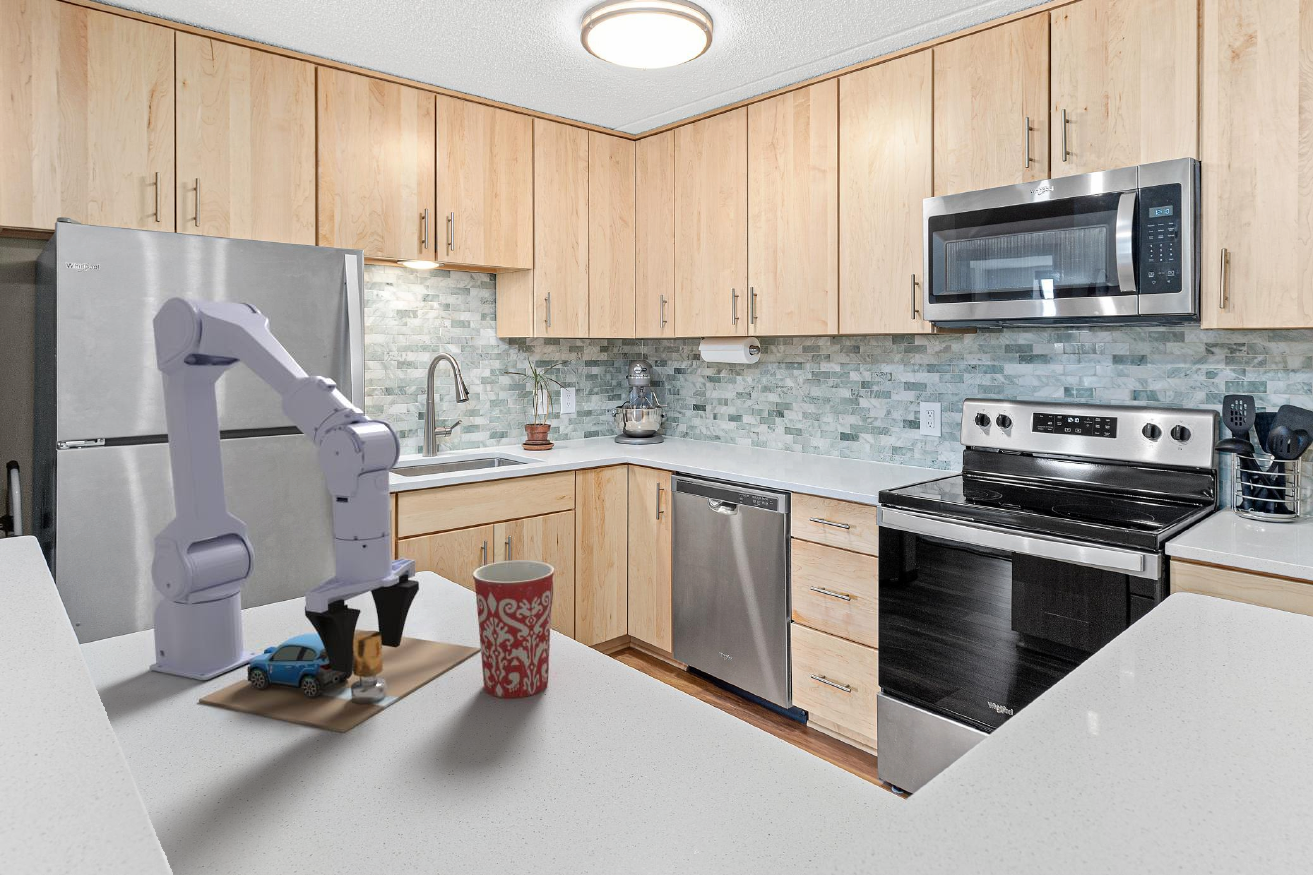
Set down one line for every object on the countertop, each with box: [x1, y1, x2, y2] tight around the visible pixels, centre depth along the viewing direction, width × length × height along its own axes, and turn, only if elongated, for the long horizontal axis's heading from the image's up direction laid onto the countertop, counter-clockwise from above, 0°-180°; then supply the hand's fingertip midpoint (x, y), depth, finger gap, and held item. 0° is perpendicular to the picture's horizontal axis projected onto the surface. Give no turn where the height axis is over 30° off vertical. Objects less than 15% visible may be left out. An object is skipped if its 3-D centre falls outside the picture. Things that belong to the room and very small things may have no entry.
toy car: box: [246, 633, 353, 698], centre depth 89 cm, size 6×12×6 cm, turn 73°
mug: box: [472, 560, 556, 699], centre depth 91 cm, size 13×9×14 cm
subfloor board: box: [198, 628, 481, 734], centre depth 93 cm, size 20×24×1 cm
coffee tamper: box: [351, 630, 387, 705], centre depth 86 cm, size 4×4×7 cm
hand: (367, 657), depth 86 cm, fingers open, 7 cm apart
